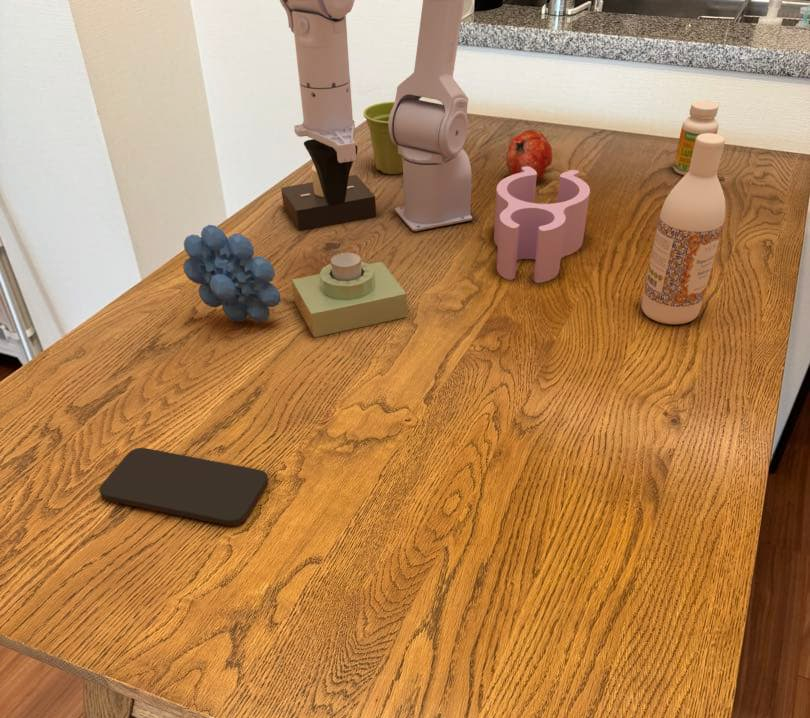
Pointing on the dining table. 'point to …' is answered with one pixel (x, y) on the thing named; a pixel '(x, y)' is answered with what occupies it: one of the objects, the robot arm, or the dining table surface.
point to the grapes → (230, 274)
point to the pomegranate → (529, 153)
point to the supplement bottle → (694, 132)
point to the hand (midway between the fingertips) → (335, 202)
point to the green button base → (349, 299)
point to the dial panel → (316, 211)
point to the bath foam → (687, 238)
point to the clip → (538, 223)
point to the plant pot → (383, 139)
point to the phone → (185, 486)
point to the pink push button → (346, 267)
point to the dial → (316, 182)
